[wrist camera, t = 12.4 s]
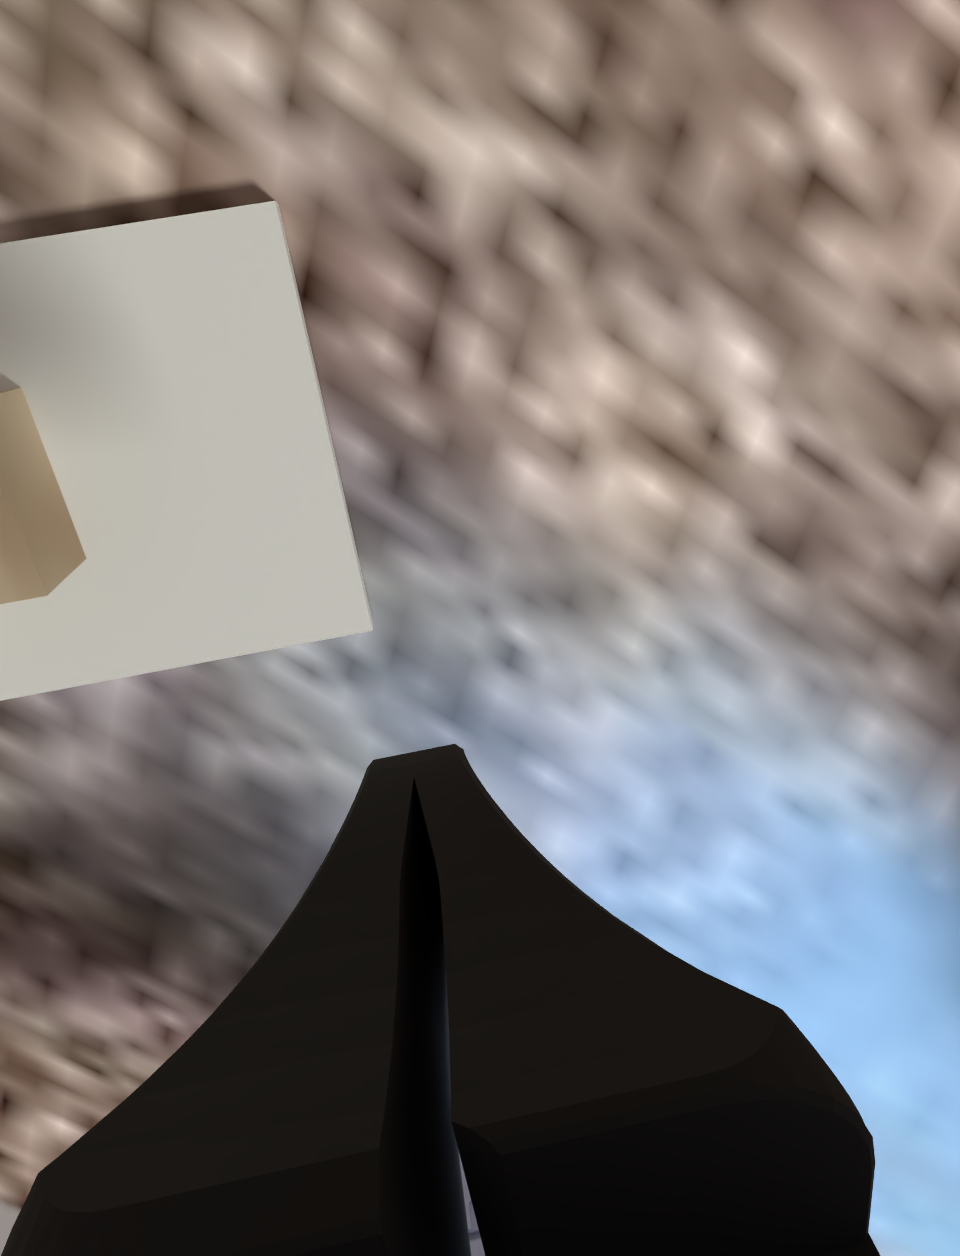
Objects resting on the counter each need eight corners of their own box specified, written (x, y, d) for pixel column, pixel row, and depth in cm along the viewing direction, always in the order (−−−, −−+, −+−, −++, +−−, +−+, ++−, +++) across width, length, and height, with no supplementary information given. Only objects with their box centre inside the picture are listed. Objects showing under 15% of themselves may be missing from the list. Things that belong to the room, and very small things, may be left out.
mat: (372, 621, 21) (372, 630, 20) (-163, 721, 20) (-178, 734, 20) (278, 203, 17) (275, 200, 16) (-400, 309, 16) (-427, 309, 15)
